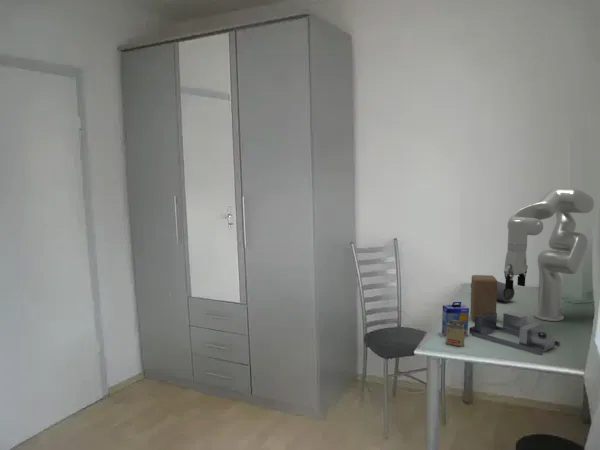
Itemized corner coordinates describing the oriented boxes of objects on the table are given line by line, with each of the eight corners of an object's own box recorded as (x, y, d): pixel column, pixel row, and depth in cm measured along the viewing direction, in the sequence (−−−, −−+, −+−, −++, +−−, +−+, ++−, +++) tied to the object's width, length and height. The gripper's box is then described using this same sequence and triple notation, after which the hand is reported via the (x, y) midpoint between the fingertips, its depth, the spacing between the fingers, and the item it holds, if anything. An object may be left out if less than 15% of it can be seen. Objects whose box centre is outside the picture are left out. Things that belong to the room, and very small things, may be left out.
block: (496, 323, 227) (497, 279, 225) (472, 322, 229) (474, 278, 227) (492, 316, 237) (493, 275, 235) (470, 315, 239) (471, 274, 237)
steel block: (508, 326, 223) (509, 311, 222) (526, 331, 217) (527, 315, 216) (502, 328, 220) (503, 313, 219) (520, 333, 214) (521, 317, 213)
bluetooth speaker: (469, 294, 279) (470, 276, 278) (482, 292, 283) (482, 275, 282) (501, 304, 258) (502, 285, 257) (514, 302, 262) (515, 283, 261)
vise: (487, 326, 223) (487, 309, 222) (560, 345, 198) (561, 326, 198) (466, 334, 213) (467, 316, 212) (540, 355, 189) (541, 334, 188)
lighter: (444, 343, 202) (445, 319, 200) (447, 341, 205) (448, 317, 204) (462, 347, 198) (463, 322, 197) (465, 344, 201) (466, 319, 200)
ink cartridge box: (445, 336, 210) (446, 302, 208) (440, 332, 215) (441, 299, 213) (468, 336, 210) (469, 302, 209) (463, 331, 216) (464, 298, 214)
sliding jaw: (534, 339, 205) (534, 321, 204) (556, 345, 198) (557, 327, 197) (518, 346, 197) (519, 327, 196) (541, 352, 190) (542, 333, 189)
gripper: (519, 245, 223) (517, 283, 225) (497, 248, 212) (496, 288, 214) (535, 247, 217) (533, 286, 219) (514, 250, 206) (512, 291, 208)
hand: (515, 287), depth 216 cm, fingers open, 9 cm apart
